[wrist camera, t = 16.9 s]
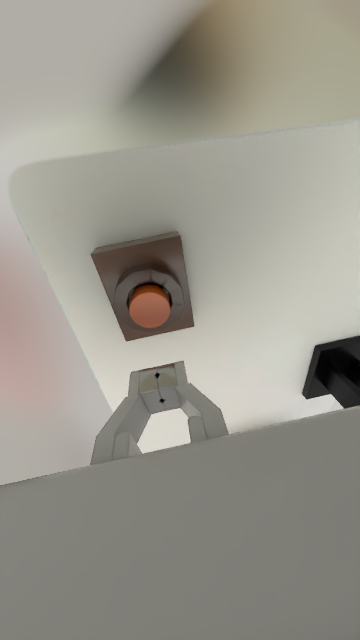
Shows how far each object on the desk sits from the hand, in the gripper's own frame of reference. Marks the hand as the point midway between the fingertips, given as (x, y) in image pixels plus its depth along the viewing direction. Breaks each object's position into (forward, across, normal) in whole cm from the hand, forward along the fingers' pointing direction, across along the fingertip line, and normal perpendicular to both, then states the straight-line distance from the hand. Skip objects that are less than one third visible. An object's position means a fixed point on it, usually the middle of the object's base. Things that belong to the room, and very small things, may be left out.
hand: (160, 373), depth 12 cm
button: (+9, +1, 0) cm, 9 cm away
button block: (+13, +1, 0) cm, 13 cm away
